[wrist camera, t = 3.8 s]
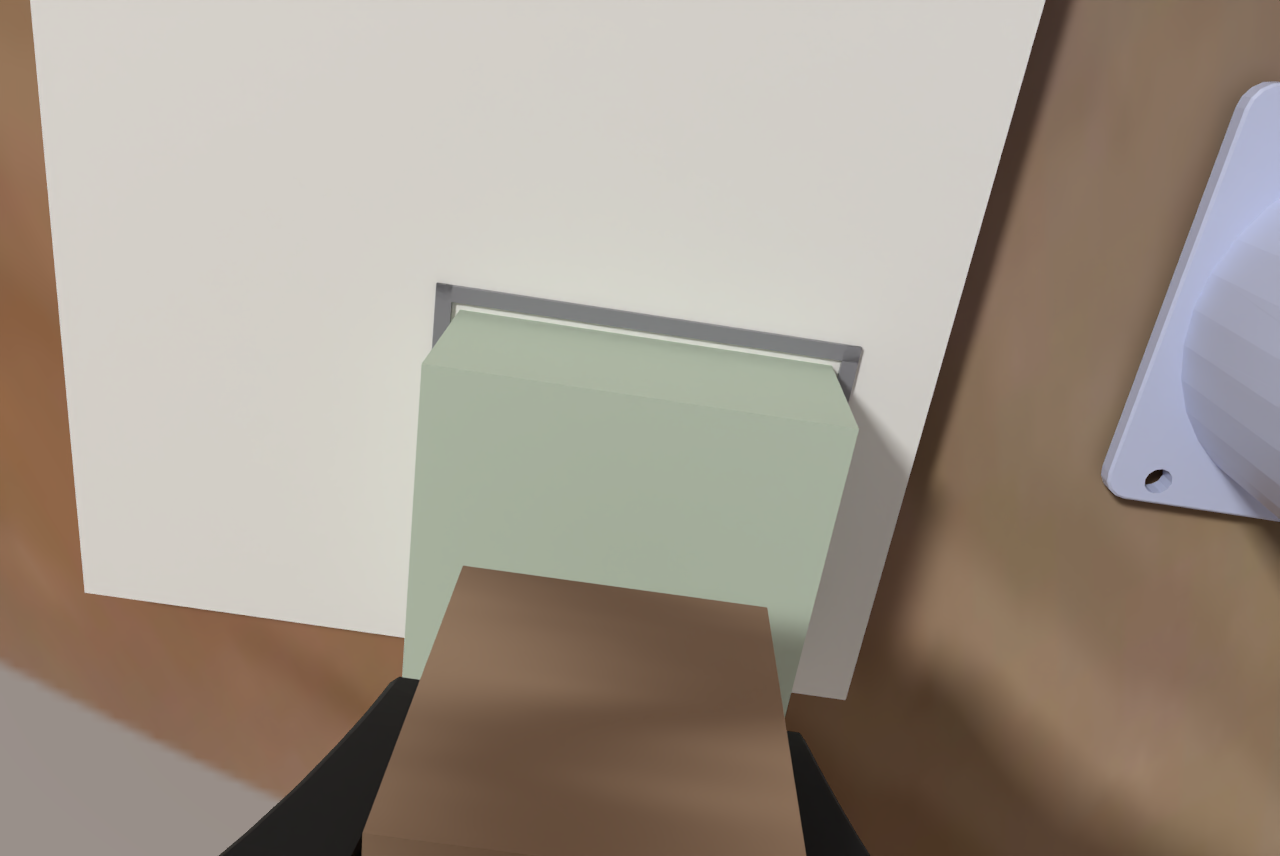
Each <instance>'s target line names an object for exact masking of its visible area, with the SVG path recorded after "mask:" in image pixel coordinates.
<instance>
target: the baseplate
mask: <svg viewBox="0 0 1280 856" xmlns="http://www.w3.org/2000/svg"><path fill="white" fill-rule="evenodd" d="M30 3H31V14H32V25H33V36H34V47H35V58H36V69H37V79H38V90H39V101H40V112H41V123H42V134H43V145H44V155H45V166H46V177H47V188H48V199H49V210H50V220H51V231H52V242H53V253H54V264H55V275H56V286H57V296H58V307H59V318H60V329H61V340H62V351H63V361H64V372H65V383H66V394H67V405H68V416H69V427H70V437H71V448H72V459H73V470H74V481H75V492H76V502H77V513H78V524H79V535H80V546H81V557H82V568H83V578H84V589H85V593H92V594H99V595H106V596H113V597H120V598H127V599H134V600H142V601H149V602H156V603H163V604H170V605H177V606H184V607H191V608H198V609H205V610H212V611H219V612H226V613H233V614H240V615H247V616H255V617H262V618H269V619H276V620H283V621H290V622H297V623H304V624H311V625H318V626H325V627H332V628H339V629H346V630H353V631H360V632H368V633H375V634H382V635H389V636H396V637H403V638H405V624H406V608H407V592H408V576H409V559H410V543H411V527H412V511H413V495H414V478H415V462H416V446H417V430H418V414H419V398H420V381H421V365H422V362H423V361H424V360H425V358H426V357H427V355H428V354H429V353H430V351H431V350H432V348H433V347H434V346H435V344H436V343H437V341H438V340H439V338H440V337H441V336H442V334H443V333H444V331H445V330H446V329H447V327H448V326H449V324H450V323H451V321H452V320H453V319H454V317H455V316H456V314H457V313H458V312H459V310H467V311H473V312H480V313H487V314H493V315H500V316H507V317H513V318H520V319H526V320H533V321H540V322H546V323H553V324H560V325H566V326H573V327H579V328H586V329H593V330H599V331H606V332H613V333H619V334H626V335H632V336H639V337H646V338H652V339H659V340H666V341H672V342H679V343H686V344H692V345H699V346H705V347H712V348H719V349H725V350H732V351H739V352H745V353H752V354H758V355H765V356H772V357H778V358H785V359H792V360H798V361H805V362H811V363H818V364H825V365H831V366H832V367H833V370H834V372H835V374H836V377H837V379H838V381H839V384H840V386H841V388H842V390H843V393H844V395H845V397H846V400H847V402H848V404H849V407H850V409H851V411H852V414H853V416H854V418H855V421H856V423H857V425H858V428H859V431H858V435H857V439H856V443H855V447H854V451H853V455H852V459H851V462H850V466H849V470H848V474H847V478H846V482H845V486H844V490H843V494H842V497H841V501H840V505H839V509H838V513H837V517H836V521H835V525H834V529H833V532H832V536H831V540H830V544H829V548H828V552H827V556H826V560H825V564H824V567H823V571H822V575H821V579H820V583H819V587H818V591H817V595H816V599H815V602H814V606H813V610H812V614H811V618H810V622H809V626H808V630H807V634H806V637H805V641H804V645H803V649H802V653H801V657H800V661H799V665H798V669H797V672H796V676H795V680H794V684H793V688H792V692H791V693H798V694H805V695H812V696H819V697H827V698H834V699H841V700H846V697H847V693H848V690H849V686H850V683H851V679H852V676H853V672H854V669H855V665H856V662H857V658H858V655H859V651H860V648H861V644H862V641H863V637H864V634H865V630H866V627H867V623H868V620H869V616H870V613H871V609H872V606H873V602H874V599H875V595H876V592H877V588H878V585H879V581H880V578H881V574H882V571H883V567H884V564H885V560H886V557H887V553H888V550H889V546H890V543H891V539H892V536H893V532H894V529H895V525H896V522H897V518H898V515H899V511H900V508H901V504H902V501H903V497H904V494H905V490H906V487H907V483H908V480H909V476H910V473H911V469H912V466H913V462H914V459H915V455H916V452H917V448H918V445H919V441H920V438H921V434H922V431H923V427H924V424H925V420H926V417H927V413H928V410H929V406H930V403H931V399H932V396H933V392H934V389H935V385H936V382H937V378H938V375H939V371H940V368H941V364H942V361H943V357H944V354H945V350H946V347H947V343H948V340H949V336H950V333H951V329H952V326H953V322H954V319H955V315H956V312H957V308H958V305H959V301H960V298H961V294H962V291H963V287H964V284H965V280H966V277H967V273H968V270H969V266H970V263H971V259H972V256H973V252H974V249H975V245H976V242H977V238H978V235H979V231H980V228H981V224H982V221H983V217H984V214H985V210H986V207H987V203H988V200H989V196H990V193H991V189H992V186H993V182H994V179H995V175H996V172H997V168H998V165H999V161H1000V158H1001V154H1002V151H1003V147H1004V144H1005V140H1006V137H1007V133H1008V130H1009V126H1010V123H1011V119H1012V116H1013V112H1014V109H1015V105H1016V101H1017V98H1018V94H1019V91H1020V87H1021V84H1022V80H1023V77H1024V73H1025V70H1026V66H1027V63H1028V59H1029V56H1030V52H1031V49H1032V45H1033V42H1034V38H1035V35H1036V31H1037V28H1038V24H1039V21H1040V17H1041V14H1042V10H1043V7H1044V3H1045V0H30Z"/></svg>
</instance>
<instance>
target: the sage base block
mask: <svg viewBox="0 0 1280 856" xmlns="http://www.w3.org/2000/svg"><path fill="white" fill-rule="evenodd" d="M858 431H859V428H858V425H857V423H856V421H855V418H854V416H853V414H852V411H851V409H850V407H849V404H848V402H847V400H846V397H845V395H844V393H843V390H842V388H841V386H840V384H839V381H838V379H837V377H836V374H835V372H834V370H833V367H832V366H831V365H825V364H818V363H811V362H805V361H798V360H792V359H785V358H778V357H772V356H765V355H758V354H752V353H745V352H739V351H732V350H725V349H719V348H712V347H705V346H699V345H692V344H686V343H679V342H672V341H666V340H659V339H652V338H646V337H639V336H632V335H626V334H619V333H613V332H606V331H599V330H593V329H586V328H579V327H573V326H566V325H560V324H553V323H546V322H540V321H533V320H526V319H520V318H513V317H507V316H500V315H493V314H487V313H480V312H473V311H467V310H459V312H458V313H457V314H456V316H455V317H454V319H453V320H452V321H451V323H450V324H449V326H448V327H447V329H446V330H445V331H444V333H443V334H442V336H441V337H440V338H439V340H438V341H437V343H436V344H435V346H434V347H433V348H432V350H431V351H430V353H429V354H428V355H427V357H426V358H425V360H424V361H423V362H422V365H421V381H420V398H419V414H418V430H417V446H416V462H415V478H414V495H413V511H412V527H411V543H410V559H409V576H408V592H407V608H406V624H405V640H404V657H403V673H402V677H404V678H411V679H418V680H420V678H421V676H422V673H423V671H424V668H425V665H426V663H427V660H428V657H429V655H430V652H431V649H432V647H433V644H434V641H435V639H436V636H437V633H438V631H439V628H440V625H441V623H442V620H443V617H444V615H445V612H446V609H447V607H448V604H449V601H450V599H451V596H452V593H453V591H454V588H455V585H456V583H457V580H458V577H459V575H460V572H461V569H462V567H463V566H470V567H477V568H484V569H492V570H499V571H506V572H513V573H521V574H528V575H535V576H542V577H550V578H557V579H564V580H572V581H579V582H586V583H593V584H601V585H608V586H615V587H622V588H630V589H637V590H644V591H651V592H659V593H666V594H673V595H680V596H688V597H695V598H702V599H710V600H717V601H724V602H731V603H739V604H746V605H753V606H760V607H767V609H768V615H769V622H770V628H771V635H772V641H773V647H774V654H775V660H776V666H777V673H778V679H779V685H780V692H781V698H782V704H783V711H784V717H785V715H786V711H787V707H788V704H789V700H790V696H791V692H792V688H793V684H794V680H795V676H796V672H797V669H798V665H799V661H800V657H801V653H802V649H803V645H804V641H805V637H806V634H807V630H808V626H809V622H810V618H811V614H812V610H813V606H814V602H815V599H816V595H817V591H818V587H819V583H820V579H821V575H822V571H823V567H824V564H825V560H826V556H827V552H828V548H829V544H830V540H831V536H832V532H833V529H834V525H835V521H836V517H837V513H838V509H839V505H840V501H841V497H842V494H843V490H844V486H845V482H846V478H847V474H848V470H849V466H850V462H851V459H852V455H853V451H854V447H855V443H856V439H857V435H858Z"/></svg>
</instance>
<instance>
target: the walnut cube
mask: <svg viewBox="0 0 1280 856" xmlns="http://www.w3.org/2000/svg"><path fill="white" fill-rule="evenodd" d="M362 856H806V851H805V844H804V838H803V832H802V825H801V819H800V813H799V806H798V800H797V794H796V787H795V781H794V774H793V768H792V762H791V755H790V749H789V743H788V736H787V730H786V724H785V717H784V711H783V704H782V698H781V692H780V685H779V679H778V673H777V666H776V660H775V654H774V647H773V641H772V635H771V628H770V622H769V615H768V609H767V607H760V606H753V605H746V604H739V603H731V602H724V601H717V600H710V599H702V598H695V597H688V596H680V595H673V594H666V593H659V592H651V591H644V590H637V589H630V588H622V587H615V586H608V585H601V584H593V583H586V582H579V581H572V580H564V579H557V578H550V577H542V576H535V575H528V574H521V573H513V572H506V571H499V570H492V569H484V568H477V567H470V566H463V567H462V569H461V572H460V575H459V577H458V580H457V583H456V585H455V588H454V591H453V593H452V596H451V599H450V601H449V604H448V607H447V609H446V612H445V615H444V617H443V620H442V623H441V625H440V628H439V631H438V633H437V636H436V639H435V641H434V644H433V647H432V649H431V652H430V655H429V657H428V660H427V663H426V665H425V668H424V671H423V673H422V676H421V678H420V681H419V684H418V686H417V689H416V692H415V694H414V697H413V700H412V702H411V705H410V708H409V710H408V713H407V716H406V718H405V721H404V724H403V726H402V729H401V732H400V734H399V737H398V740H397V742H396V745H395V748H394V750H393V753H392V756H391V758H390V761H389V764H388V766H387V769H386V772H385V774H384V777H383V780H382V782H381V785H380V788H379V790H378V793H377V796H376V798H375V801H374V804H373V806H372V809H371V812H370V814H369V817H368V820H367V822H366V825H365V828H364V830H363V833H362Z"/></svg>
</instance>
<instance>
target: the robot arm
mask: <svg viewBox="0 0 1280 856" xmlns="http://www.w3.org/2000/svg"><path fill="white" fill-rule="evenodd" d="M1161 469H1163V475H1162V476H1161V477H1160V479H1159V480H1158V481H1156V482H1154V483H1152V484H1145V479H1146V478H1147V476H1148V475H1149V474H1150V473H1151V472H1153V471H1155V470H1161ZM1101 476H1102V480H1103V483H1104V484H1105V485H1106V486H1107V487H1108V488H1109V490H1110V491H1111V492H1112V493H1114V494H1115V495H1116V496H1118V497H1121V498H1124V499H1130V500H1137V501H1143V502H1150V503H1157V504H1164V505H1170V506H1177V507H1184V508H1191V509H1197V510H1204V511H1211V512H1218V513H1224V514H1231V515H1238V516H1245V517H1251V518H1258V519H1265V520H1272V521H1278V522H1280V82H1262V83H1260V84H1258V85H1256V86H1253V87H1251V88H1250V89H1249V90H1248V91H1247V92H1246V93H1245V94H1244V95H1243V96H1242V97H1241V99H1240V100H1239V102H1238V104H1237V106H1236V108H1235V110H1234V113H1233V116H1232V118H1231V121H1230V124H1229V127H1228V129H1227V132H1226V135H1225V137H1224V140H1223V143H1222V145H1221V148H1220V151H1219V153H1218V156H1217V159H1216V162H1215V164H1214V167H1213V170H1212V172H1211V175H1210V178H1209V180H1208V183H1207V186H1206V188H1205V191H1204V194H1203V197H1202V199H1201V202H1200V205H1199V207H1198V210H1197V213H1196V215H1195V218H1194V221H1193V224H1192V226H1191V229H1190V232H1189V234H1188V237H1187V240H1186V242H1185V245H1184V248H1183V250H1182V253H1181V256H1180V259H1179V261H1178V264H1177V267H1176V269H1175V272H1174V275H1173V277H1172V280H1171V283H1170V285H1169V288H1168V291H1167V294H1166V296H1165V299H1164V302H1163V304H1162V307H1161V310H1160V312H1159V315H1158V318H1157V321H1156V323H1155V326H1154V329H1153V331H1152V334H1151V337H1150V339H1149V342H1148V345H1147V347H1146V350H1145V353H1144V356H1143V358H1142V361H1141V364H1140V366H1139V369H1138V372H1137V374H1136V377H1135V380H1134V383H1133V385H1132V388H1131V391H1130V393H1129V396H1128V399H1127V401H1126V404H1125V407H1124V409H1123V412H1122V415H1121V418H1120V420H1119V423H1118V426H1117V428H1116V431H1115V434H1114V436H1113V439H1112V442H1111V444H1110V447H1109V450H1108V453H1107V455H1106V458H1105V461H1104V463H1103V466H1102V472H1101ZM419 681H420V680H418V679H411V678H404V677H398V678H397V679H395V680H394V681H392V682H390V683H389V685H388V686H387V687H386V689H385V690H384V691H383V692H382V694H381V695H380V696H379V697H378V699H377V700H376V701H375V702H374V703H373V705H372V706H371V707H370V708H369V709H368V711H367V712H366V713H365V714H364V715H363V716H362V718H361V719H360V720H359V721H358V722H357V723H356V724H355V725H354V727H353V728H352V729H351V730H350V731H349V732H348V733H347V734H346V735H345V736H344V738H343V739H342V740H341V741H340V742H339V743H338V744H337V745H336V746H335V747H334V748H333V749H332V750H331V751H330V752H329V754H328V755H327V756H326V757H325V758H324V759H323V760H322V761H321V762H320V763H319V764H318V765H317V766H316V767H315V768H314V769H313V770H312V771H311V772H310V773H309V774H308V775H307V776H306V777H305V778H304V779H303V780H302V781H301V782H300V783H299V784H298V785H297V786H296V787H295V788H294V789H293V790H292V791H291V792H290V793H289V794H288V795H287V796H285V797H284V798H283V799H282V800H281V801H280V802H279V803H278V804H277V805H276V806H275V807H273V808H272V809H271V810H270V811H269V812H268V813H267V814H266V815H265V816H264V817H263V818H261V819H260V820H259V821H258V822H257V823H256V824H255V825H254V826H253V827H252V828H251V829H249V830H248V831H247V832H246V833H245V834H244V835H243V836H242V837H240V838H239V839H238V840H237V841H236V842H234V843H233V844H232V845H231V846H230V847H229V848H227V849H226V850H225V851H224V852H223V853H221V854H220V855H219V856H362V833H363V830H364V828H365V825H366V822H367V820H368V817H369V814H370V812H371V809H372V806H373V804H374V801H375V798H376V796H377V793H378V790H379V788H380V785H381V782H382V780H383V777H384V774H385V772H386V769H387V766H388V764H389V761H390V758H391V756H392V753H393V750H394V748H395V745H396V742H397V740H398V737H399V734H400V732H401V729H402V726H403V724H404V721H405V718H406V716H407V713H408V710H409V708H410V705H411V702H412V700H413V697H414V694H415V692H416V689H417V686H418V684H419ZM787 736H788V743H789V749H790V755H791V762H792V768H793V774H794V781H795V787H796V794H797V800H798V806H799V813H800V819H801V825H802V832H803V838H804V844H805V851H806V856H870V854H869V853H868V851H867V850H866V848H865V846H864V845H863V843H862V842H861V840H860V838H859V837H858V835H857V834H856V832H855V830H854V828H853V827H852V825H851V823H850V822H849V820H848V818H847V817H846V815H845V813H844V811H843V810H842V808H841V806H840V804H839V803H838V801H837V799H836V797H835V796H834V794H833V792H832V790H831V788H830V787H829V785H828V783H827V781H826V779H825V777H824V776H823V774H822V772H821V770H820V768H819V766H818V764H817V762H816V761H815V759H814V757H813V755H812V753H811V751H810V749H809V747H808V745H807V743H806V741H805V740H804V739H803V737H802V736H801V735H800V733H797V732H790V731H787Z"/></svg>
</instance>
